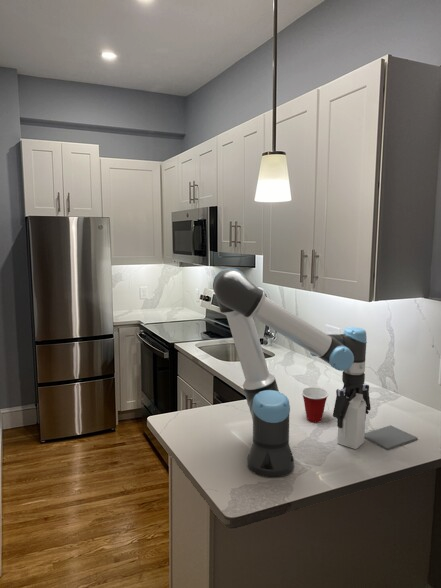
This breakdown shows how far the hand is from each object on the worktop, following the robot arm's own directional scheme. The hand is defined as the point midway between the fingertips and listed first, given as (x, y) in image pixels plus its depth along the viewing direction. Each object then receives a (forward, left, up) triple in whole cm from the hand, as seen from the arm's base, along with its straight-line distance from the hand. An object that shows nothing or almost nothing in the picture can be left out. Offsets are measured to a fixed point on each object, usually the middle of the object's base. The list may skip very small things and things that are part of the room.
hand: (351, 432), depth 160 cm
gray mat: (+15, -4, -4) cm, 16 cm away
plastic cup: (+2, +22, -4) cm, 22 cm away
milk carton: (0, 0, -4) cm, 4 cm away
